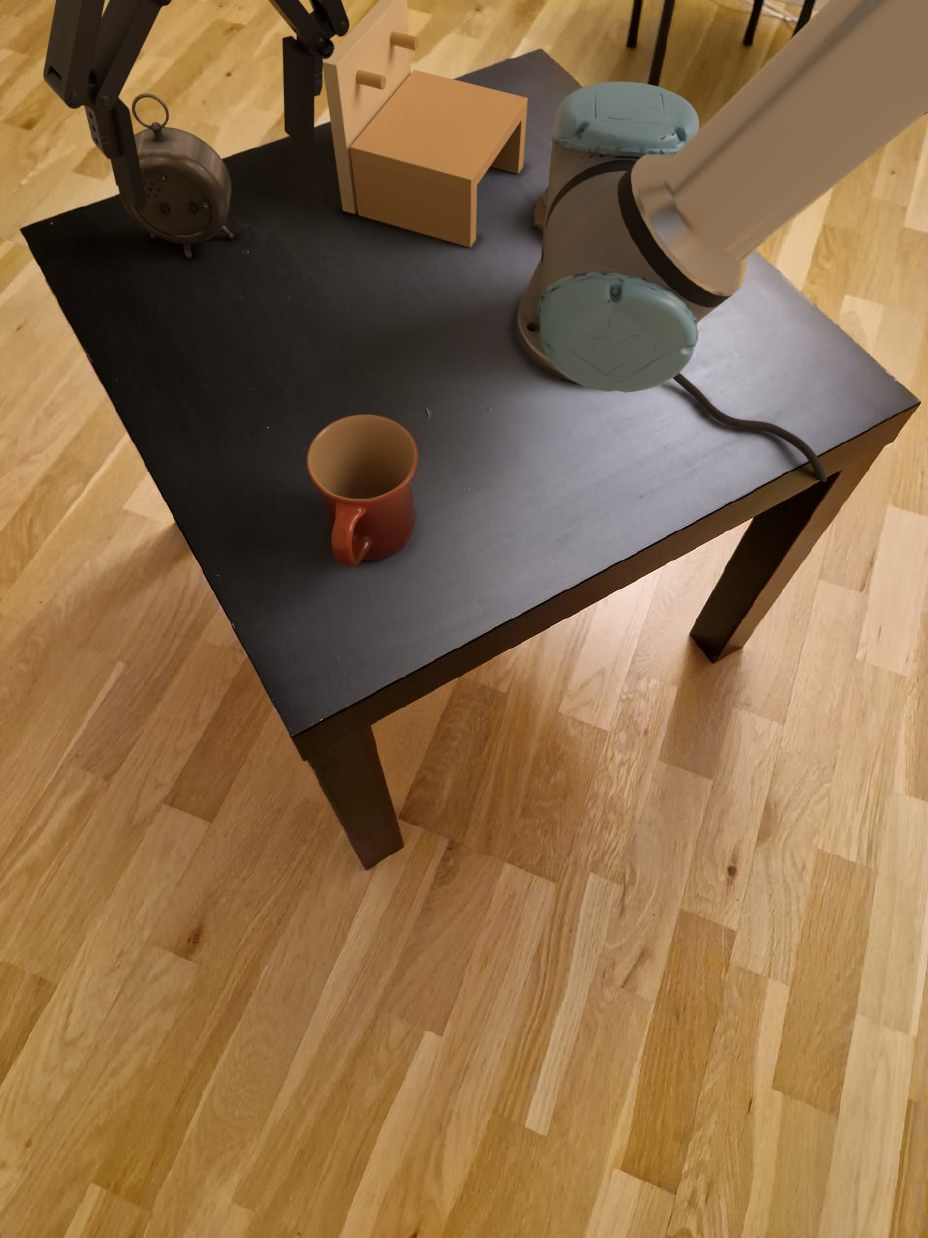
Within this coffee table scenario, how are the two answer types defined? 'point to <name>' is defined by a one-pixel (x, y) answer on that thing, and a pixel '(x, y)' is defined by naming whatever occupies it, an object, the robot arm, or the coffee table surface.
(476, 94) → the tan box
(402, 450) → the mug
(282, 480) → the coffee table surface
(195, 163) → the alarm clock
